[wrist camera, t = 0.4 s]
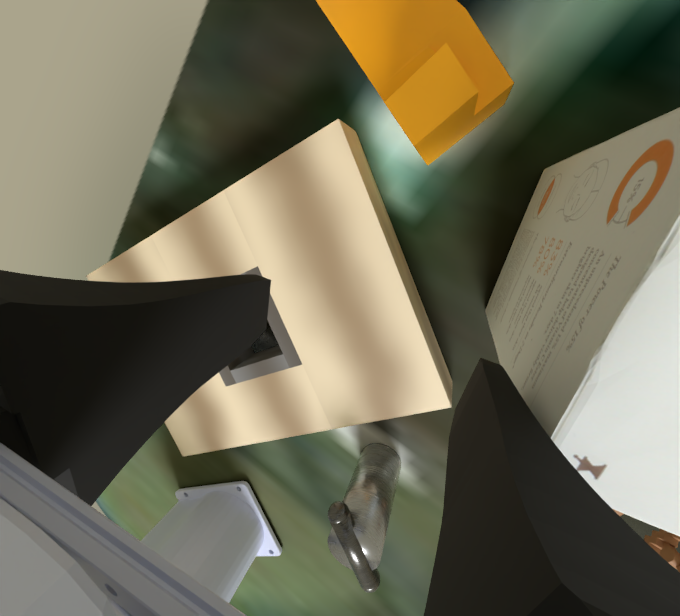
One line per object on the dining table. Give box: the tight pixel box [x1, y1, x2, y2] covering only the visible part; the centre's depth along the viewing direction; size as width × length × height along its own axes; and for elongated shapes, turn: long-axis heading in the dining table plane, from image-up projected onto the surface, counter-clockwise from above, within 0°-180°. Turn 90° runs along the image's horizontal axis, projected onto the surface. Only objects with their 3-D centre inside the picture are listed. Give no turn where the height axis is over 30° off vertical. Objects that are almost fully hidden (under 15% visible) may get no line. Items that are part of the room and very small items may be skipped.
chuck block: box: [87, 119, 452, 457], centre depth 23 cm, size 22×16×3 cm
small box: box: [485, 108, 680, 536], centre depth 11 cm, size 8×6×13 cm
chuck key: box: [328, 443, 401, 593], centre depth 21 cm, size 3×6×7 cm, turn 24°
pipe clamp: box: [316, 0, 514, 165], centre depth 14 cm, size 12×4×6 cm, turn 37°
